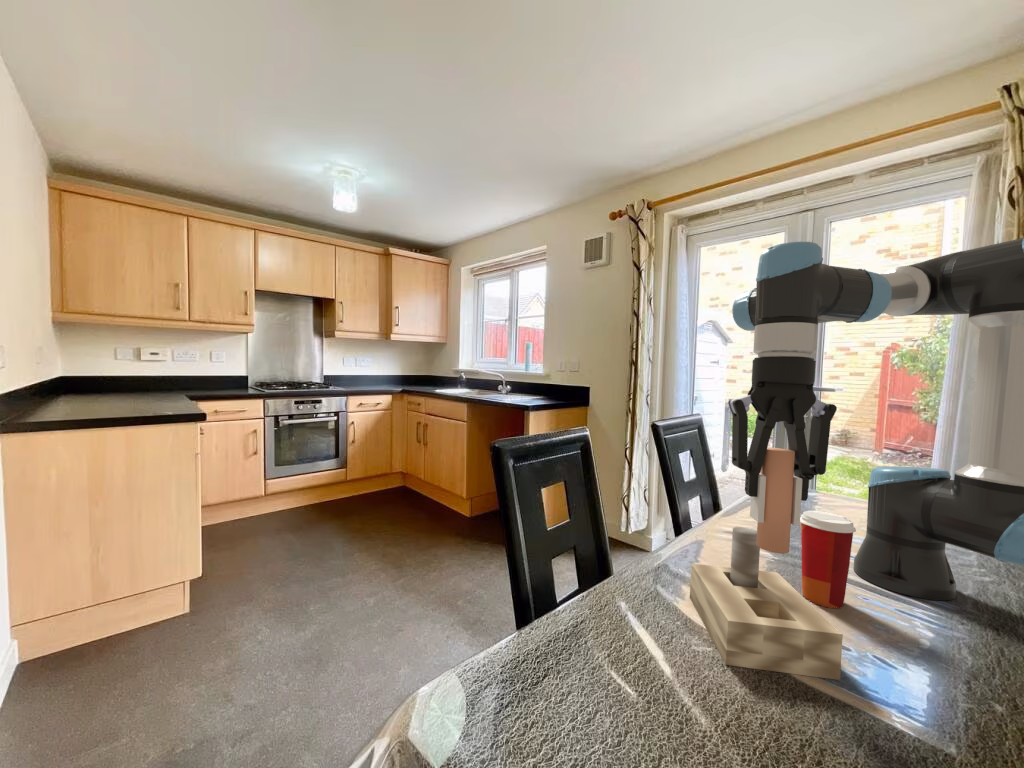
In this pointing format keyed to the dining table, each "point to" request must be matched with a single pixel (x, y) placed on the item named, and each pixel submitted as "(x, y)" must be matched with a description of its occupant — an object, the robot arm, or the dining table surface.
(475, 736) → the dining table surface
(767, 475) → the dowel
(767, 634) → the bore block
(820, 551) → the coffee cup
